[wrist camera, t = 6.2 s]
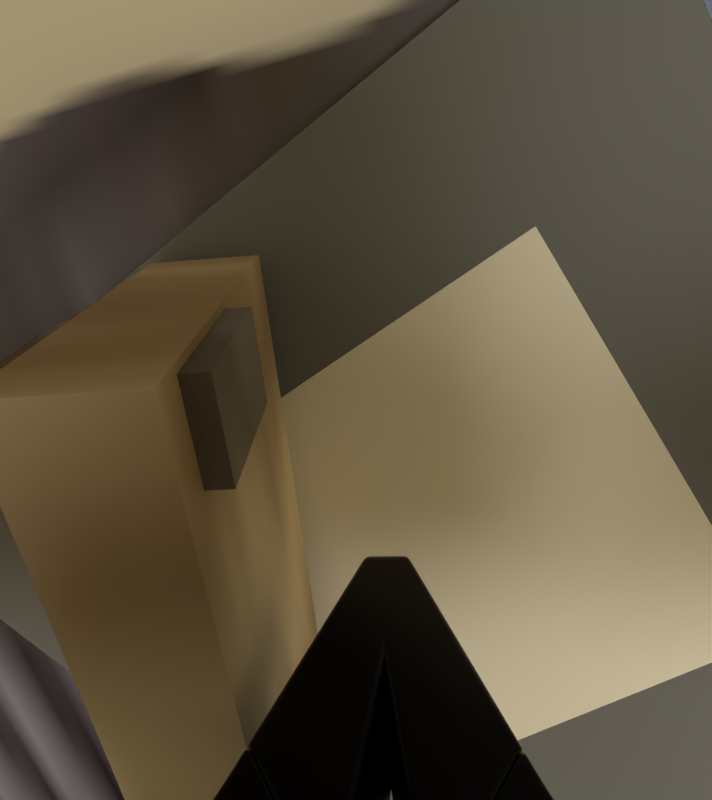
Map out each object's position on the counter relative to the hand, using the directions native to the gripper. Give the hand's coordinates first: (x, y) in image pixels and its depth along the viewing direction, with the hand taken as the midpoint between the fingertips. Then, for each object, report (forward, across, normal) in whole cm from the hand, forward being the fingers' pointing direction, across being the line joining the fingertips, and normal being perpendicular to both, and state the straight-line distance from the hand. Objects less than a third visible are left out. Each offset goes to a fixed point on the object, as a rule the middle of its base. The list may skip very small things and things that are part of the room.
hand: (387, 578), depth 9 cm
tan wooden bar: (+2, +2, +3) cm, 5 cm away
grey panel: (+3, -5, +8) cm, 10 cm away
